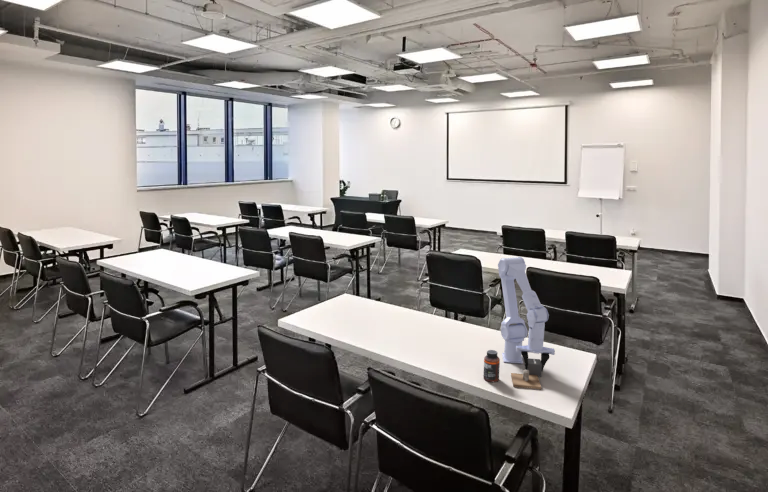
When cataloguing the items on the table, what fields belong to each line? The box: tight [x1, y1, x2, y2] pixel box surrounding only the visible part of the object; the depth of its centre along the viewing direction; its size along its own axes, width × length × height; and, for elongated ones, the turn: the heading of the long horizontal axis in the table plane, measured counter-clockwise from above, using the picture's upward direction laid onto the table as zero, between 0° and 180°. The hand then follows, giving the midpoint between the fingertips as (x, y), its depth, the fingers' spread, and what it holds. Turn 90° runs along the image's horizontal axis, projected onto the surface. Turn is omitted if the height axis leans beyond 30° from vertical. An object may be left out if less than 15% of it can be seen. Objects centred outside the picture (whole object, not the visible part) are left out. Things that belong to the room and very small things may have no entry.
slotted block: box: [527, 357, 543, 377], centre depth 187 cm, size 5×5×6 cm
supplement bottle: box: [483, 349, 501, 383], centre depth 181 cm, size 6×6×11 cm
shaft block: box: [510, 369, 542, 390], centre depth 180 cm, size 10×10×4 cm
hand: (533, 369), depth 187 cm, fingers closed on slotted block, 5 cm apart
